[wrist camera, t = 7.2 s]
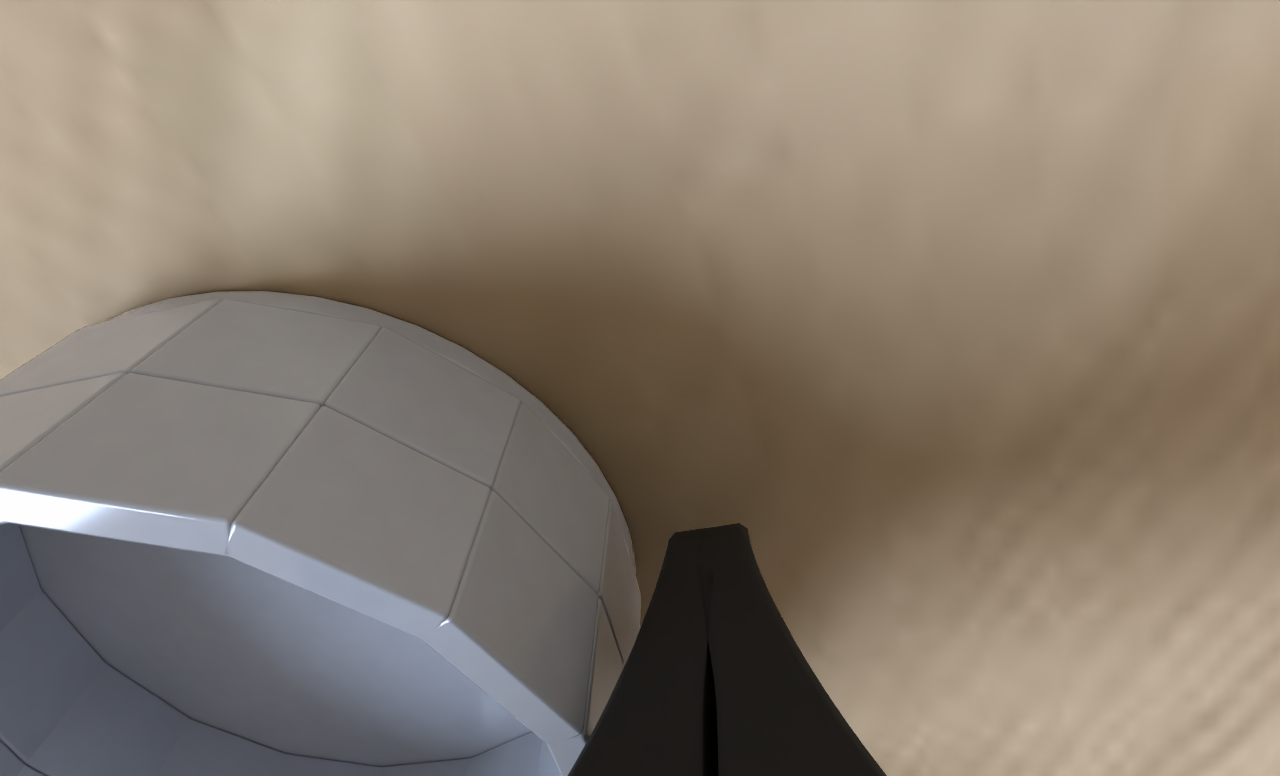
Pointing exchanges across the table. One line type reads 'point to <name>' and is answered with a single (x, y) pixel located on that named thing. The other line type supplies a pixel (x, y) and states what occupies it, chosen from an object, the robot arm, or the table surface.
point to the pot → (298, 553)
